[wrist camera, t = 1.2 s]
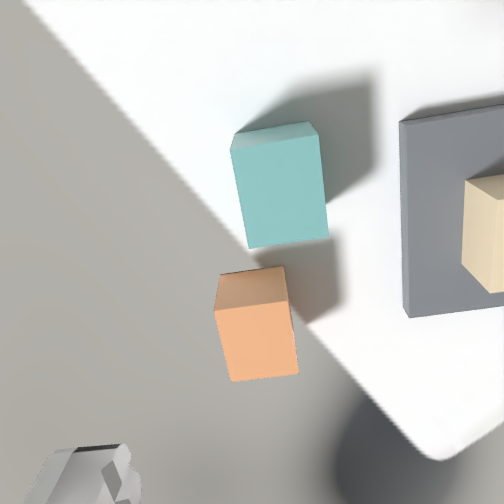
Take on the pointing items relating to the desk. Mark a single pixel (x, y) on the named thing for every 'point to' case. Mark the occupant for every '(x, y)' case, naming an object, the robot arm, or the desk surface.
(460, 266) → the plate
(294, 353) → the terracotta brick
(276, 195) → the teal brick
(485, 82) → the desk surface
